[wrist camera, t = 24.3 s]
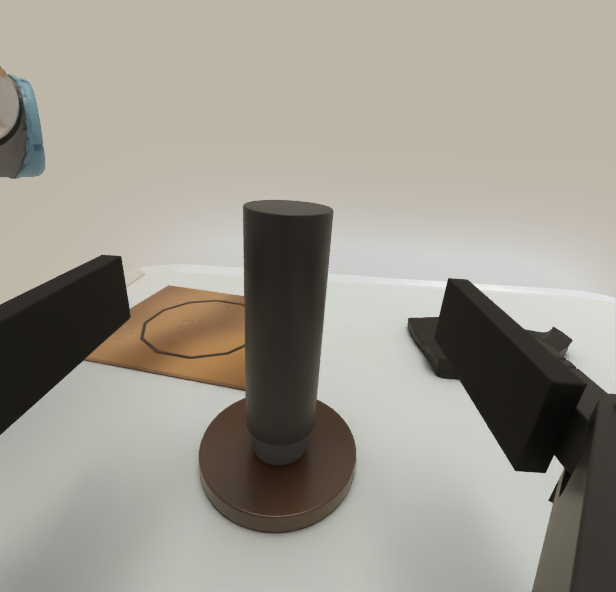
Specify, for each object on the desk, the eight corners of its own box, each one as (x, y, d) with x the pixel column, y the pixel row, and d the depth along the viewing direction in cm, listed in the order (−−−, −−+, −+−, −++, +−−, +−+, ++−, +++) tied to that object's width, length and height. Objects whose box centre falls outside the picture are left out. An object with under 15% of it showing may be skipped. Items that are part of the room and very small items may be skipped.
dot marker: (235, 463, 16) (227, 208, 12) (259, 414, 20) (260, 197, 15) (304, 478, 16) (326, 218, 11) (317, 425, 19) (338, 204, 14)
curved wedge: (610, 387, 26) (619, 369, 25) (432, 378, 25) (437, 360, 25) (540, 332, 33) (546, 317, 33) (403, 324, 33) (406, 309, 32)
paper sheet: (60, 355, 25) (59, 351, 25) (168, 287, 38) (168, 284, 38) (268, 394, 23) (268, 390, 22) (310, 308, 35) (310, 305, 35)
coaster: (167, 508, 15) (164, 492, 15) (237, 394, 22) (236, 381, 22) (346, 554, 14) (348, 539, 14) (359, 417, 21) (361, 404, 21)
